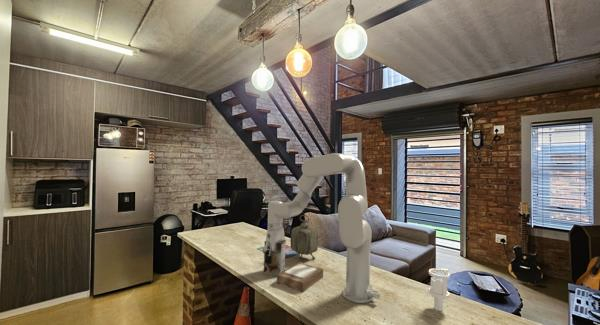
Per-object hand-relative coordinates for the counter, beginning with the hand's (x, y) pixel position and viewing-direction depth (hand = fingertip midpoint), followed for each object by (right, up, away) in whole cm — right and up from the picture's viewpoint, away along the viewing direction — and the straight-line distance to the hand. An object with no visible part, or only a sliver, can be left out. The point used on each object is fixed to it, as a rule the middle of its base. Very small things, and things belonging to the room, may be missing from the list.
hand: (274, 260), depth 128 cm
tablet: (0, -7, +33) cm, 34 cm away
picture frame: (+13, -6, -7) cm, 16 cm away
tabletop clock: (+15, -7, +20) cm, 26 cm away
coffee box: (0, -6, 0) cm, 6 cm away
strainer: (+66, -7, -29) cm, 72 cm away
